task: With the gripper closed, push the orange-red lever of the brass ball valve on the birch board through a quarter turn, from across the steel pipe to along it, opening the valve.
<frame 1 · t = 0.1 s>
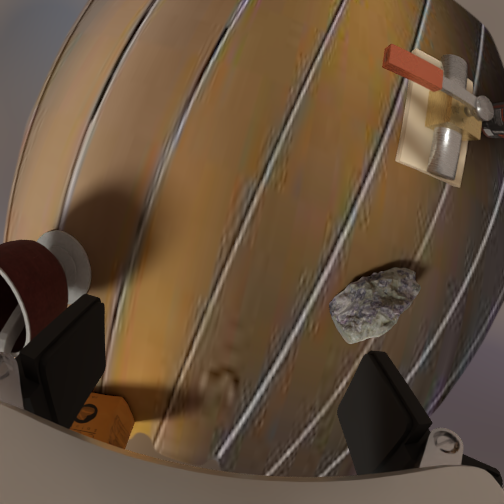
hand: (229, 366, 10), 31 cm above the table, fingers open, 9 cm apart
coffee package: (106, 404, 49), on the table
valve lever: (445, 85, 25), point 11 cm above the table, hinge at -90.0°
mineral rock: (367, 296, 43), on the table
supplement bottle: (486, 121, 36), on the table
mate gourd: (62, 271, 42), on the table
valve body: (458, 112, 30), on the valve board, point 6 cm above the table
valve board: (437, 117, 36), on the table
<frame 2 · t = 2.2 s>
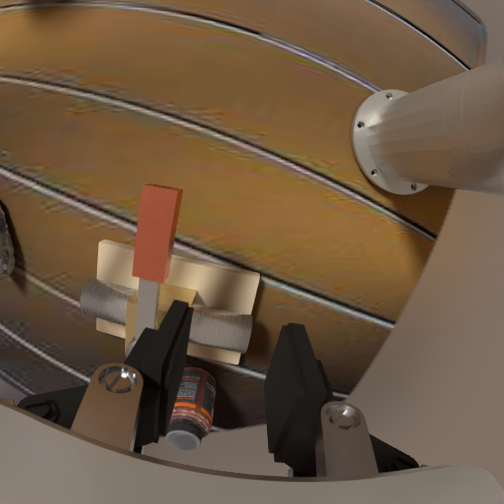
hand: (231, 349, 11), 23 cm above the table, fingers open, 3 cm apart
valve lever: (149, 288, 23), point 11 cm above the table, hinge at -90.0°
supplement bottle: (195, 380, 39), on the table
valve body: (159, 325, 30), on the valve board, point 6 cm above the table
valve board: (171, 302, 35), on the table
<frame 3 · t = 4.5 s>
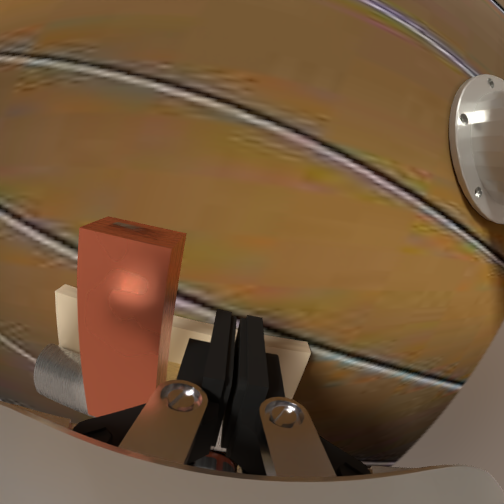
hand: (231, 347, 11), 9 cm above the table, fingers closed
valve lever: (127, 425, 10), point 11 cm above the table, hinge at -90.0°, touching gripper
supplement bottle: (206, 461, 25), on the table
valve body: (153, 429, 16), on the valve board, point 6 cm above the table
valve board: (170, 378, 22), on the table
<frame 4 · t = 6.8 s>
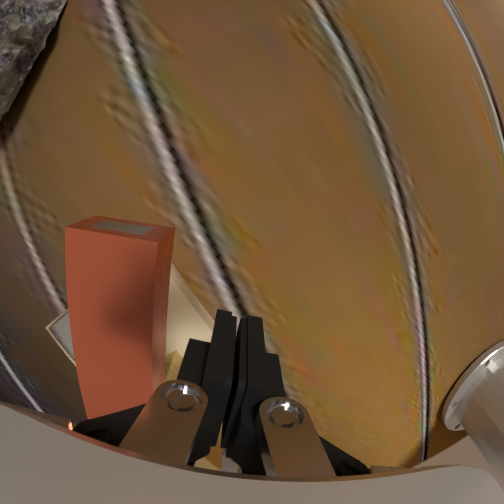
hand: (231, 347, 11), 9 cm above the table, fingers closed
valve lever: (129, 429, 10), point 11 cm above the table, hinge at -41.4°, touching gripper
mineral rock: (22, 50, 14), on the table
valve body: (159, 432, 16), on the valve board, point 6 cm above the table
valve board: (174, 381, 22), on the table
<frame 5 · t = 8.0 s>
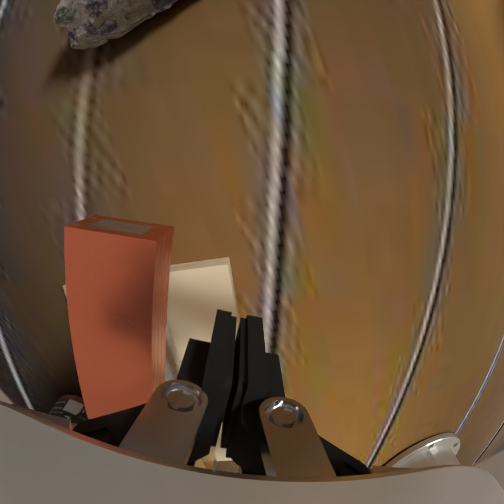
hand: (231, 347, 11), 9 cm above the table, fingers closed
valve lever: (129, 429, 10), point 11 cm above the table, hinge at -17.4°, touching gripper
supplement bottle: (85, 411, 23), on the table
valve body: (160, 432, 16), on the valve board, point 6 cm above the table
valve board: (175, 380, 22), on the table
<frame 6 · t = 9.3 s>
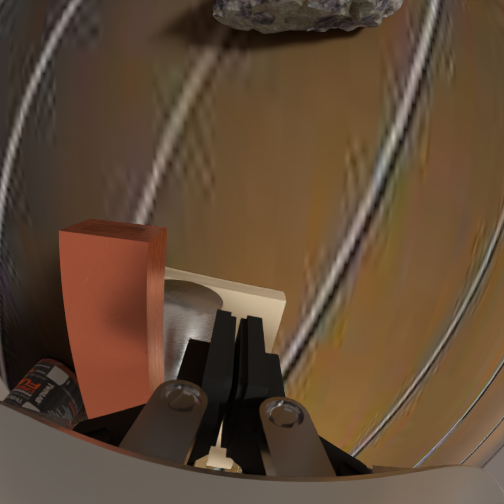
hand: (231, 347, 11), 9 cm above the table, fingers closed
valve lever: (130, 430, 10), point 11 cm above the table, hinge at 4.9°
supplement bottle: (62, 379, 22), on the table
valve body: (163, 433, 16), on the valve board, point 6 cm above the table
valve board: (178, 382, 22), on the table
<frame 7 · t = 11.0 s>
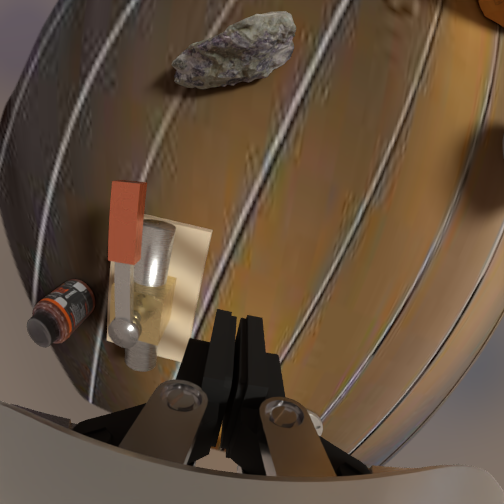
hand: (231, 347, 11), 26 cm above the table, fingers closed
coffee package: (494, 12, 25), on the table
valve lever: (124, 270, 26), point 11 cm above the table, hinge at 4.9°
mineral rock: (237, 56, 31), on the table
supplement bottle: (80, 295, 38), on the table
valve body: (140, 308, 32), on the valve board, point 6 cm above the table
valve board: (154, 289, 38), on the table
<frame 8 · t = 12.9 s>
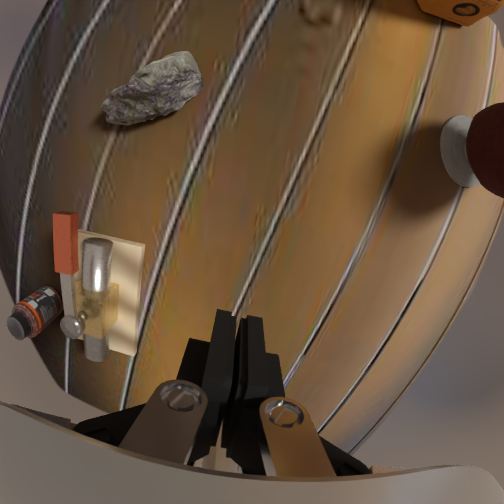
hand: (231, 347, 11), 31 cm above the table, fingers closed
coffee package: (437, 5, 31), on the table
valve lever: (67, 279, 31), point 11 cm above the table, hinge at 4.9°
mineral rock: (158, 92, 36), on the table
supplement bottle: (51, 299, 44), on the table
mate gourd: (465, 146, 38), on the table
valve body: (89, 308, 38), on the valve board, point 6 cm above the table
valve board: (105, 293, 43), on the table
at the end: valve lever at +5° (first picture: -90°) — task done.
